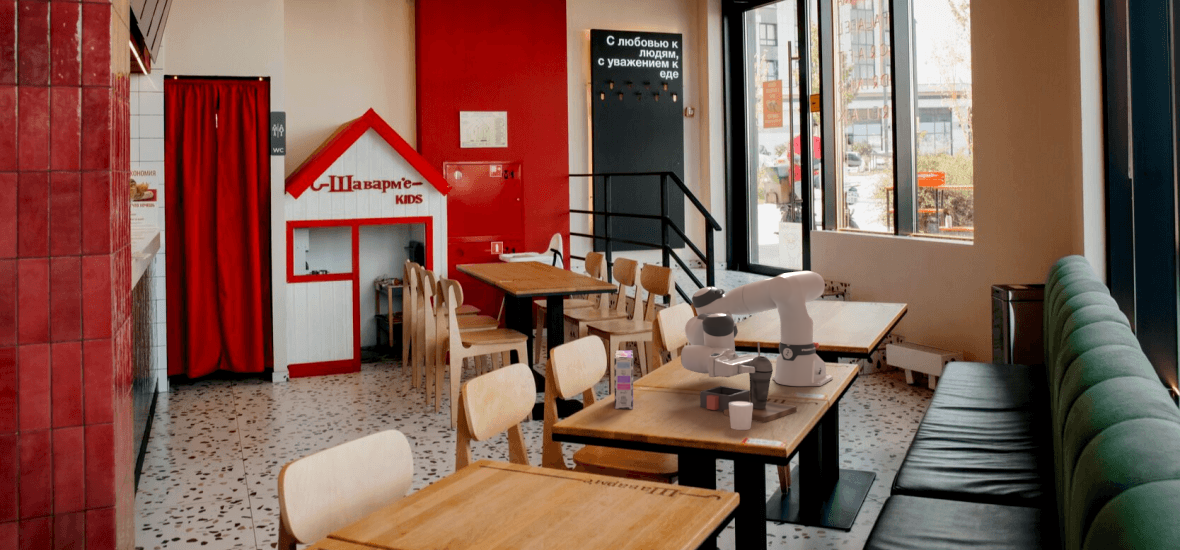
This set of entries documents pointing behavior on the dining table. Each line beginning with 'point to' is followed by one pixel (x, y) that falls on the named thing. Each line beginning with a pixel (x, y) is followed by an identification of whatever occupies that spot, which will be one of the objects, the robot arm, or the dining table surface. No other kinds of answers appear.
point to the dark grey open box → (722, 397)
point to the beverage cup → (760, 381)
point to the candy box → (623, 379)
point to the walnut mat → (769, 412)
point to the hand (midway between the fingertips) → (763, 368)
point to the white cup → (740, 415)
